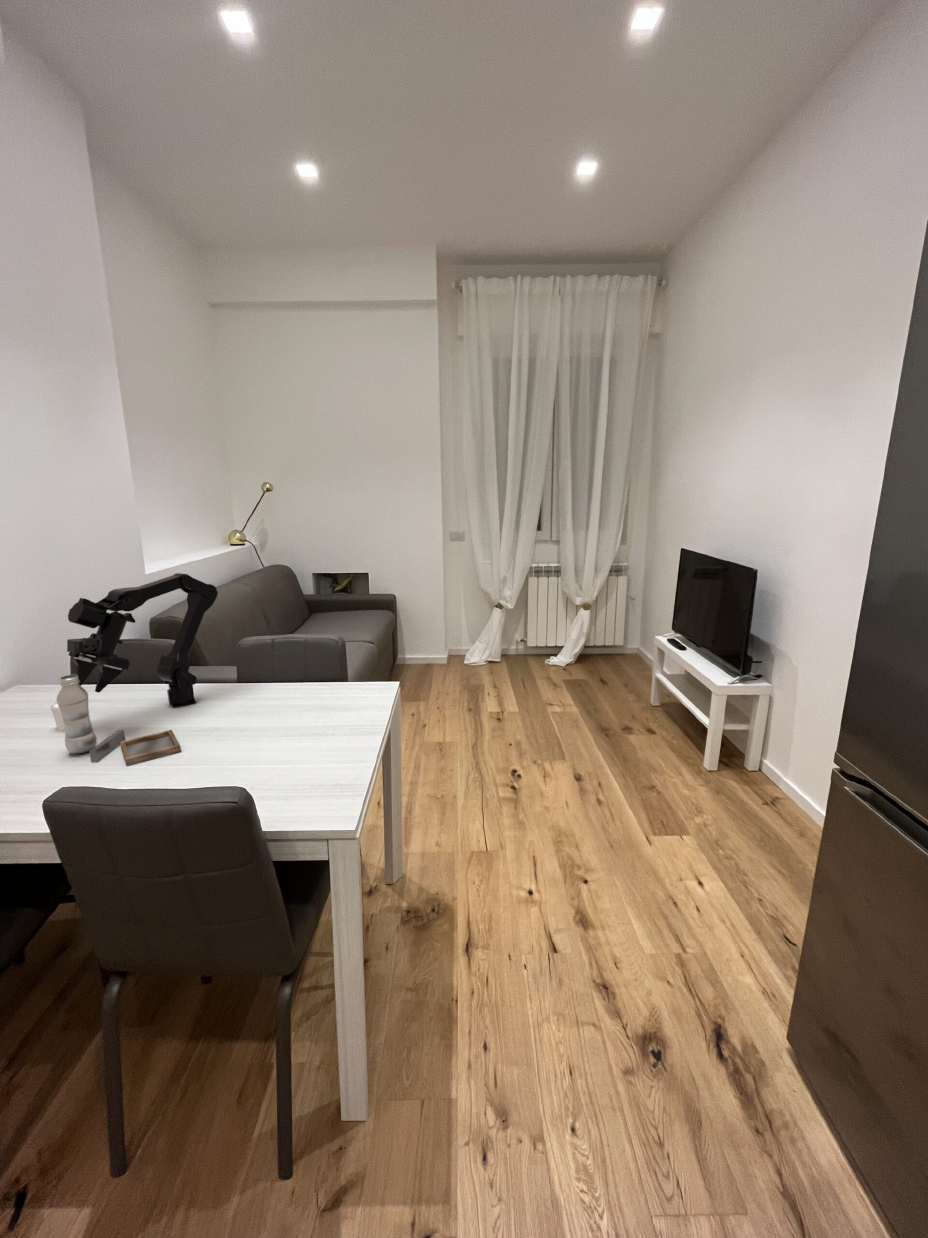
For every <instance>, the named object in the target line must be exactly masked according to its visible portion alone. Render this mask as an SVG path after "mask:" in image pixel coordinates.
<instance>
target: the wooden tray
mask: <svg viewBox="0 0 928 1238" xmlns="http://www.w3.org/2000/svg"><path fill="white" fill-rule="evenodd" d="M119 746H120V749H121V753H122V755H123V759H124V762H125V766H126V767H127V766H132V764H133V765H136V764H140V763H144V762H147V761H151V760H155V759H158V758H162V757H166V756H171V755H175V754H178V753H181V752H182V748H181V744H180V742H179V741H178V738H177V737H176V735H175V734H174V732H173V730H172V729H169V730H165V731H159V732H155V733H152V734H147V735H144V736H139V737H135V738H131V739H130V738H129V739H125V741H121V742H120V745H119Z"/></svg>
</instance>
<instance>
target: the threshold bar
mask: <svg viewBox="0 0 928 1238" xmlns="http://www.w3.org/2000/svg"><path fill="white" fill-rule="evenodd" d="M121 741H126V735H125V730H124V729H117V730H116V731H114V732H113V733H112V734H111V735H109V736H108V737H106V738H104V739H103V740H102V741H101V742H99V743H98V744H96V745H95V747H94V748H92V749H91V750H89V751H88V752H89V758H90V762H91V763H97V762H99V761H101V760H102V759H103V758H104V757H106V756H107V755H108V754H109V753H111V752H112V751H113V750H115V749H116V748H117V747H119V746H121V745H120V742H121Z"/></svg>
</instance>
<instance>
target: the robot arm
mask: <svg viewBox="0 0 928 1238" xmlns="http://www.w3.org/2000/svg"><path fill="white" fill-rule="evenodd" d="M179 589H180V590H181V591H182V592H184V593H186V595H187V596H186V602H187V610H186V611H185V616H184V618H183V621H182V623H181V626H180V628H179V630H178V634H177V636H176V639H175V641H174V644H173V646H172V649H171V650H170V652H169V653H168V654H167V655H165V654H161V656H160V658H159V663H158V664H157V666H156V668H157V671H156V674H157V676H158V678H159V679H160V680H162V681H163V683H164V684H165V685H168V689H166V693H167V698H168V704H169V705H170V706H172V708H174V709H175V708H178V707H179V708H180V707H183V706H188V705H193V704H196V703H197V701H196V700H195V695H194V686H193V685H196V684H197V680H198V679H197V678H198V677H197V676H195V675H194V674H192V673H191V672H189V670H190V666H191V665H190V658H189V655H190V653H191V650H192V647H193V644H194V641H195V640H196V637H197V633H198V631H199V628H200V625H201V623H202V622H203V621H202V620H203V618H204V615H205V613H206V612H207V611H208V610H210V608H211V607H213V605H214V603H215V602H216V599H217V598H218V594H219V591H218V589H217V587H216V586H215V585H213V584H211V583H206V582H204V581H201V580H199V579H196V578H194V577H193V576H190V575H189V574H187V573H181V572H180V573H179V572H177V573H174V574H172V575H169V576H167V577H163V578H160V579H158V580H155V581H152V582H148V583H145V584H142V585H139V586H133V587H122V588H121V587H120V588H114V589H111V590H110V591H109V592H108V593H107V596H105V597H104V598H102V599H101V600H98V601H96V602H94V601H91V600H90V599H88V598H83V597H80V598H79V599H78V602H76V603H75V604H73V605H72V607H71V608H70V609H69V610H68V615H67V619H68V621H69V622H70V623H72V624H76V625H78V626H79V625H80V626H82V627H85V628H89V629H96V628H97V631H96V633H94V632H93V633H91V634H90V635H89V636H88V637H82V638H71V639H70V638H68V639H67V641H66V646H67V649H66V651H67V652H68V656H69V657H70V660H71V661H72V662H73V663H74V665H75V675H78V678H79V681H80V683H78V684H79V685H80V686H81V687H82V685H83V684H84V683H85V681H87V679H88V677H89V676H90V675H91V673H92V672H93V670H95V668H96V667H97V668H98V671H99V674H98V678H97V681H96V685H95V690H94V692H96V693H101V692H102V690H104V689H105V688H106V687H107V686H108V685H109V684H110V683H112V681H114V680H115V679H116V678H117V677H118V676H119V675H121V674H122V673H124V672H125V670H127V671H128V670H129V669H130V665H131V661H130V659H129V658H125V657H120V656H118V655H117V654H115V653H116V651H117V648H118V645H123V642H124V641H123V640H122V639H121V637H122V635H123V633H124V630H125V627H126V625H127V623H132V624H134V623H136V619H135V618H134V616H133V614H132V613H131V612H132V611H134V610H136V609H138V608H140V607H142V606H143V605H144V604H145V603H146V602H147V601H149V600H151V599H154V598H156V597H157V598H158V597H159V596H162V595H165V594H169V593H171V592H174V591H176V590H179ZM108 611H110V612H108ZM123 612H126V613H123ZM97 662H99V664H98V663H97Z"/></svg>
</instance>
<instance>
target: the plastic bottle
mask: <svg viewBox="0 0 928 1238" xmlns="http://www.w3.org/2000/svg"><path fill="white" fill-rule="evenodd" d="M59 681H60V687H61V689H60V690H59V692H58V694H57V695H56V701H55V702H56V703H57V704H58V706H59V709H60V711H61V714H62V718H63V720H64V726H65V731H64V734H65V737H64V745H65V749H66V751H67V752H69V754H73V755H77V754H82V753H83V754H84V753H86V752H89V751H90V750H91V749H92V748H94V747H95V746H96V745H97V743H98V741H97V735H96V733H95V730H94V728H93V725H92V722H91V719H90V709H89V693H88V691H87V690H86V689H85V688H84V687H83V686H82V685H81V686H80V685H79V684H78V683H80V681H79V678H78V675H76V674H68V675H64V676H61V677H60V678H59Z"/></svg>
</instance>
